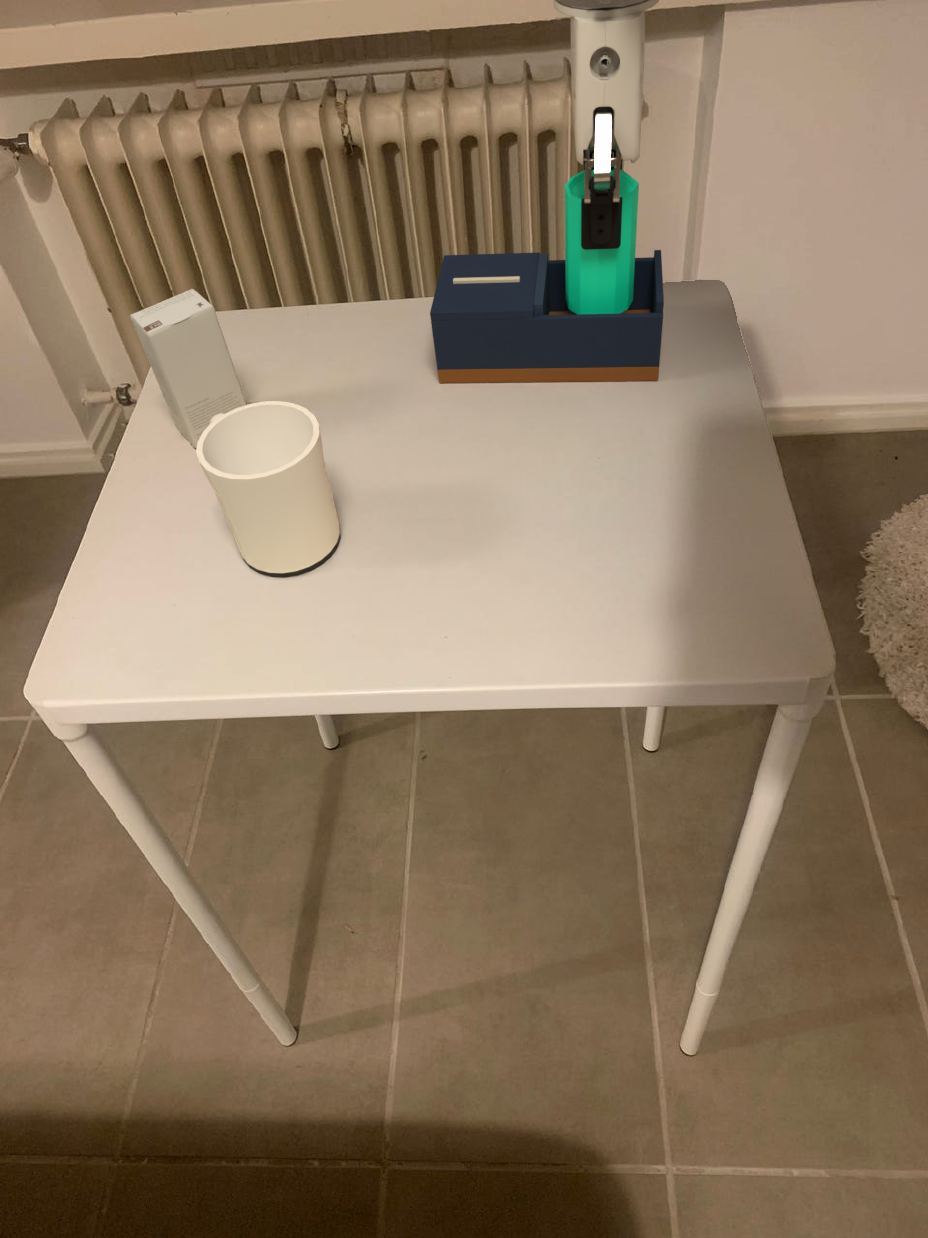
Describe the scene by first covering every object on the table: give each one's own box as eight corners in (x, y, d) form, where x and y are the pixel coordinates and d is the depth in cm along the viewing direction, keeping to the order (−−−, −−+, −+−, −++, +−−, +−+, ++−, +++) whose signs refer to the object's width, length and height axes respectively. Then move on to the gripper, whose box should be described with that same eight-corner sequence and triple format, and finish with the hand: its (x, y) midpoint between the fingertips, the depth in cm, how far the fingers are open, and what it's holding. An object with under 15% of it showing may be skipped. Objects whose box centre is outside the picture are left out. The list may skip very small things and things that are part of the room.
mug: (369, 537, 73) (344, 432, 66) (280, 600, 70) (243, 497, 62) (286, 479, 79) (255, 376, 71) (200, 534, 75) (157, 433, 68)
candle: (631, 318, 81) (638, 180, 72) (562, 318, 82) (561, 181, 73) (634, 282, 85) (641, 147, 76) (568, 282, 86) (567, 149, 77)
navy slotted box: (655, 320, 90) (660, 245, 84) (658, 381, 83) (664, 304, 78) (451, 324, 93) (443, 251, 87) (439, 383, 86) (429, 309, 80)
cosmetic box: (233, 402, 87) (193, 283, 78) (255, 424, 85) (216, 303, 75) (173, 430, 85) (126, 311, 76) (194, 453, 82) (147, 333, 73)
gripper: (665, 15, 59) (648, 279, 72) (658, -62, 70) (644, 179, 83) (546, 22, 60) (551, 281, 73) (558, -55, 71) (561, 182, 84)
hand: (601, 225), depth 78 cm, fingers closed on candle, 6 cm apart
